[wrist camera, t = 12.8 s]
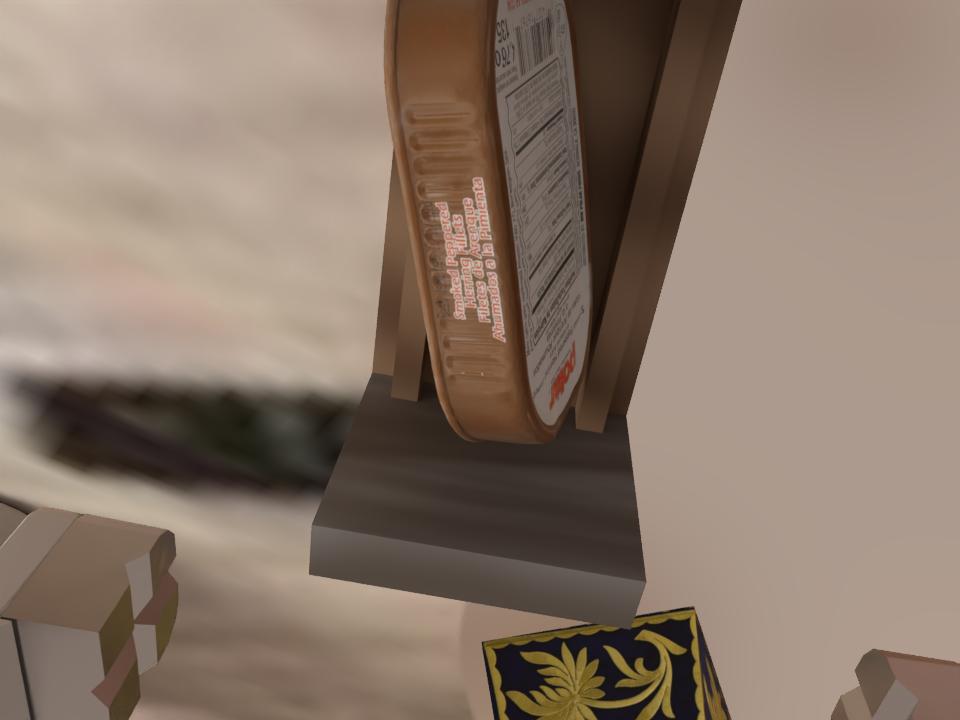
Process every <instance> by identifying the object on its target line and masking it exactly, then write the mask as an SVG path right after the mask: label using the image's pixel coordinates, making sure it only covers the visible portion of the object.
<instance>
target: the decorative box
mask: <svg viewBox="0 0 960 720" xmlns="http://www.w3.org/2000/svg"><path fill="white" fill-rule="evenodd" d="M482 648H483V654H484V660H485V666H486V672H487V678H488V684H489V690H490V696H491V702H492V708H493V714H494V720H732V719H731V716H730V714H729V710H728V708H727V704H726V701H725V698H724V696H723V692H722V689H721V686H720V683H719V680H718V677H717V674H716V671H715V668H714V665H713V662H712V659H711V656H710V653H709V650H708V647H707V644H706V641H705V638H704V635H703V632H702V628H701V625H700V622H699V620H698V616H697V614H696V610H695V607H694V606H690V607H684V608H678V609H672V610H666V611H660V612H654V613H649V614H642V615H637V616H635V617H634V620H633V623H632V626H631V629H624V628H618V627H612V626H607V625H601V624H595V623H589V624H583V625H577V626H571V627H566V628H560V629H554V630H548V631H542V632H536V633H530V634H524V635H518V636H512V637H506V638H501V639H494V640H489V641H482Z"/></svg>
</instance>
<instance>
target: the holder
mask: <svg viewBox="0 0 960 720" xmlns="http://www.w3.org/2000/svg"><path fill="white" fill-rule="evenodd" d="M571 3H572V9H573V14H574V22H575V29H576V37H577V45H578V55H579V69H580V82H581V95H582V109H583V123H584V137H585V152H586V166H587V182H588V200H589V218H590V236H591V254H592V270H593V309H592V326H591V335H590V344H589V351H588V358H587V363H586V369H585V373H584V377H583V380H582V383H581V385H580V387H579V389H578V391H577V393H576V395H575V397H574V398H573V400H572V403H571V405H570V408H569V410H568V413H567V415H566V417H565V419H564V421H563V423H562V425H561V427H560V429H559V431H558V432H557V434H556V437H555V439H554V440H553V441H552V442H550V443H545V444H519V443H508V442H498V441H488V440H486V441H482V442H470V441H467V440H464V439H463V438H462V437H460V436H459V435H458V434H457V433H456V432H455V430H454V429H453V428H452V426H451V425H450V424H449V422H448V420H447V418H446V415H445V413H444V411H443V409H442V406H441V404H440V401H439V397H438V394H437V389H436V385H435V380H434V375H433V370H432V365H431V357H430V351H429V345H428V339H427V333H426V328H425V323H424V317H423V310H422V304H421V297H420V293H419V288H418V282H417V276H416V270H415V263H414V258H413V252H412V247H411V242H410V236H409V229H408V225H407V219H406V213H405V208H404V202H403V196H402V190H401V184H400V178H399V173H398V168H397V162H396V157H395V151H394V149H393V160H392V170H391V181H390V191H389V202H388V212H387V223H386V234H385V244H384V255H383V265H382V276H381V287H380V297H379V308H378V318H377V329H376V339H375V350H374V361H373V371H372V375H371V377H370V380H369V382H368V385H367V387H366V390H365V392H364V395H363V397H362V400H361V402H360V405H359V407H358V410H357V413H356V415H355V418H354V420H353V423H352V425H351V428H350V430H349V433H348V435H347V438H346V440H345V443H344V445H343V448H342V450H341V453H340V455H339V458H338V460H337V463H336V465H335V468H334V470H333V473H332V475H331V478H330V480H329V483H328V486H327V488H326V491H325V493H324V496H323V498H322V501H321V503H320V506H319V508H318V511H317V513H316V516H315V518H314V521H313V523H312V531H311V548H310V565H309V575H315V576H321V577H327V578H332V579H338V580H344V581H350V582H356V583H362V584H367V585H373V586H379V587H385V588H391V589H397V590H402V591H408V592H414V593H420V594H426V595H432V596H437V597H443V598H449V599H455V600H461V601H467V602H473V603H478V604H484V605H490V606H496V607H502V608H508V609H514V610H519V611H525V612H532V613H537V614H543V615H548V616H554V617H560V618H566V619H572V620H577V621H583V622H589V623H595V624H601V625H607V626H612V627H618V628H624V629H631V626H632V623H633V620H634V617H635V615H636V612H637V608H638V605H639V602H640V599H641V596H642V594H643V590H644V588H645V584H646V577H645V567H644V559H643V551H642V543H641V535H640V526H639V518H638V510H637V501H636V493H635V485H634V476H633V468H632V461H631V452H630V443H629V435H628V427H627V419H626V414H627V411H628V407H629V404H630V400H631V397H632V393H633V389H634V386H635V382H636V379H637V375H638V372H639V368H640V365H641V361H642V357H643V354H644V350H645V347H646V343H647V339H648V335H649V332H650V329H651V325H652V321H653V318H654V314H655V311H656V307H657V304H658V300H659V297H660V293H661V289H662V286H663V282H664V279H665V275H666V271H667V268H668V264H669V260H670V257H671V254H672V250H673V246H674V243H675V239H676V236H677V232H678V228H679V225H680V221H681V217H682V214H683V211H684V207H685V203H686V200H687V196H688V193H689V189H690V186H691V182H692V178H693V174H694V171H695V168H696V164H697V161H698V157H699V153H700V150H701V146H702V143H703V139H704V135H705V132H706V128H707V125H708V121H709V117H710V114H711V110H712V107H713V103H714V99H715V96H716V93H717V89H718V85H719V81H720V78H721V74H722V71H723V67H724V64H725V60H726V57H727V53H728V50H729V46H730V42H731V39H732V35H733V32H734V28H735V25H736V21H737V17H738V14H739V10H740V6H741V3H742V0H571Z"/></svg>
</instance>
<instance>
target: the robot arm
mask: <svg viewBox="0 0 960 720" xmlns="http://www.w3.org/2000/svg"><path fill="white" fill-rule="evenodd" d="M175 557H176V547H175V537H174V533H172V532H170V531H169V530H166V529H161V528H156V527H151V526H146V525H141V524H136V523H130V522H125V521H120V520H115V519H110V518H105V517H100V516H95V515H90V514H85V515H84V514H79V513H74V512H69V511H64V510H59V509H54V508H49V507H44V506H43V507H41V508H39V509H37V510H35V511H33V512H31V513H30V514H29V515H28V516H27V517H26V518H25V519H24V520H23V521H22V523H21V524H20V525H19V526H18V527H17V528H16V530H15V531H14V532H13V533H12V534H11V535H10V537H9V538H8V539H7V540H6V541H5V542H4V544H3V545H2V546H1V547H0V720H128V719H129V717H130V716H131V714H132V712H133V710H134V708H135V706H136V704H137V702H138V700H139V699H140V685H139V675H141V674H142V673H144V672H146V671H147V670H149V669H150V668H152V667H153V666H155V665H157V664H158V662H159V660H160V658H161V656H162V654H163V652H164V650H165V648H166V646H167V644H168V642H169V638H170V635H171V632H172V629H173V626H174V622H175V619H176V613H177V606H178V583H177V582H176V581H175V579H174V578H173V577H172V576H171V575H170V574H169V572H168V569H169V567H170V565H171V564H172V562H173V560H174V558H175ZM855 673H856V675H857V678H858V681H859V684H860V686H859V687H857V688H855V689H853V690H851V691H849V692H848V693H846V694H844V695H842V696H841V697H840V699H839V701H838V703H837V705H836V707H835V709H834V711H833V713H832V715H831V720H960V663H956V662H953V661H946V660H940V659H934V658H927V657H921V656H915V655H909V654H902V653H896V652H890V651H884V650H877V649H872V650H871V651H869V652H868V653H866V654H865V655H863V657H862V659H861V660H860V662H859V664H858V666H857V667H856V669H855Z"/></svg>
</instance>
